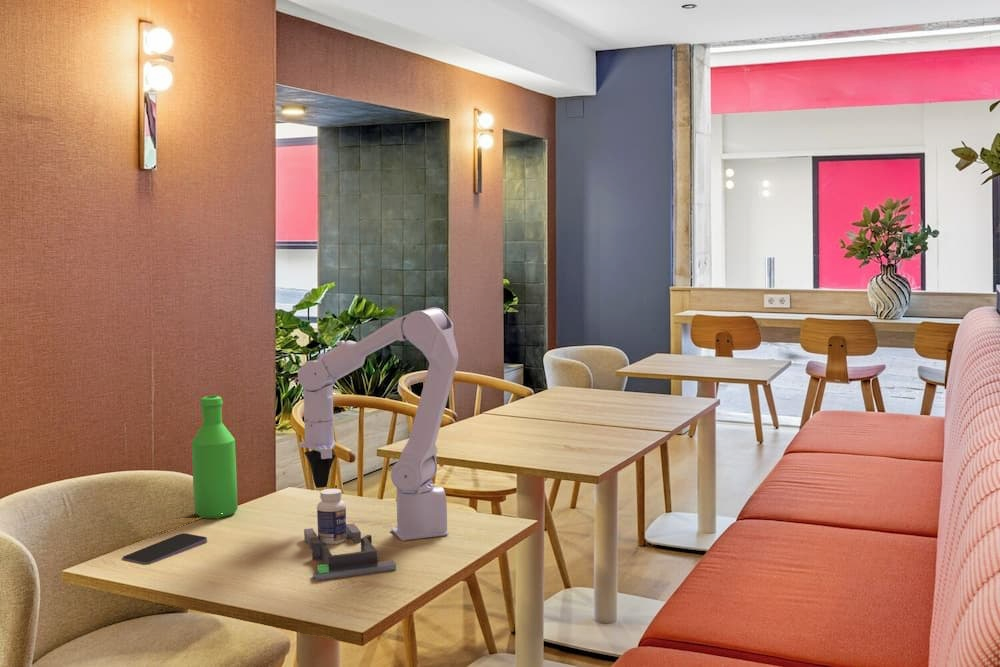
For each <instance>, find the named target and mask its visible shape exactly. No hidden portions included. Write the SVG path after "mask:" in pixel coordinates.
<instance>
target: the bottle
mask: <svg viewBox="0 0 1000 667" xmlns="http://www.w3.org/2000/svg"><path fill="white" fill-rule="evenodd" d="M222 398H223V397H222V396H218V395H207V396H203V397H202V398H201V399H200V404H199V406H200V407H202V408H201V409H202V410H201V411H202V412H201V413H202V425H201V426H200V427H199V430H198V432H197V433H196V434H195V436H194V437H193V438H192V441H191V460H192V462H191V463H192V466H191V467H192V483H193V504H194V505H193V506H194V514H196V515H197V516H198V517H200V518H202V519H207V518H209V520H210V519H211V518H214V519H222V518H227V517H229V516H232V515H233V514H235V513H236V511H237V510H238V507H239V506H238V483H237V482H238V481H237V480H238V479H237V461H236V460H237V457H236V440H235V437H234V436H233V434H231V432H230V431H229V430H228V429H227V426H226V425H224V423H223V414H222V413H223V412H222V410H223V409H222V406H223V404H224V402H223V399H222ZM221 513H223V514H221ZM225 516H226V517H225ZM221 517H222V518H221Z"/></svg>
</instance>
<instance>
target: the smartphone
mask: <svg viewBox="0 0 1000 667" xmlns="http://www.w3.org/2000/svg"><path fill="white" fill-rule="evenodd" d="M207 542H208V537H207V536H203V535H196V534H191V533H179V534H176V535H174V536H171V537H169V538H166V539H163V540H161V541H158V542H157V543H154V544H150V545H148V546H146V547H143V548H140V549H138V550H136V551H132V552H131V553H128V554H126V555H123V557H122V558H121V559H122V560H123V561H127V562H132V563H136V564H142V565H152V564H154V563H157V562H160V561H162V560H165V559H167V558H170V557H172V556H176V555H178V554H180V553H183V552H186V551H189V550H193V549H194V548H196V547H199V546H201V545H203V544H206V543H207ZM151 563H152V564H151Z"/></svg>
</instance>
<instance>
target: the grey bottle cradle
mask: <svg viewBox="0 0 1000 667" xmlns="http://www.w3.org/2000/svg"><path fill="white" fill-rule="evenodd" d="M372 542H373V541H372V534H371V535H370V534H367V535H364V536H363V537H361V542H360V551H356V552H355V551H354V552H348V553H341V554H332V553H331V551H330V550H329V548H328V547H327V544H326V543H322V542H319V541H318V542H313V543H312V548H311V554H312V555H311V558H312V560H319V561H320V562H321V564H318V565H317V570H313V571H312V573H313V574H312V575H313V579H314V580H315V582H319V581H326V580H334V579H341V578H348V577H354V576H361V575H367V574H376V573H382V572H383V573H384V572H390V571H396V570H397V563H396V562H395V561H394V560H392V559H390V560H384V561H378V549H376V547H374V545H373V543H372Z"/></svg>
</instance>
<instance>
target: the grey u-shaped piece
mask: <svg viewBox="0 0 1000 667" xmlns="http://www.w3.org/2000/svg"><path fill="white" fill-rule="evenodd" d="M303 536H304V537H303V538H304V541H305V543H306V545H307V547H308V548H309V549H312V543H313V542H319V541H318V534H317V533H316V532H315V530H314V529H313V528H311V527H310V528H304V529H303ZM346 537H347V538H348V539H349V540H350V541H351V543H352V544H355V543H356V544H357V543H361V538H362V532H361V530H360V528H358V526H357V525H356V524H355V523H346Z"/></svg>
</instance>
